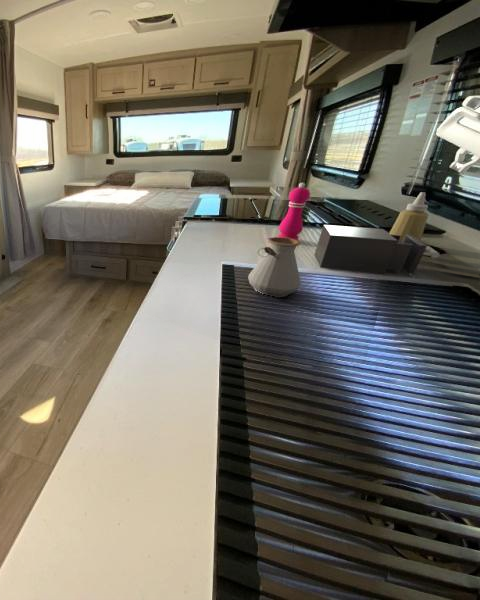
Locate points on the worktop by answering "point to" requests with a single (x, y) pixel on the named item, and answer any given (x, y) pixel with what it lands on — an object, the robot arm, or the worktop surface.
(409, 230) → the squeeze bottle
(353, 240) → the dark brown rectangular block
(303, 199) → the pepper mill
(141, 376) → the worktop surface
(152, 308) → the worktop surface
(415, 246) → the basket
